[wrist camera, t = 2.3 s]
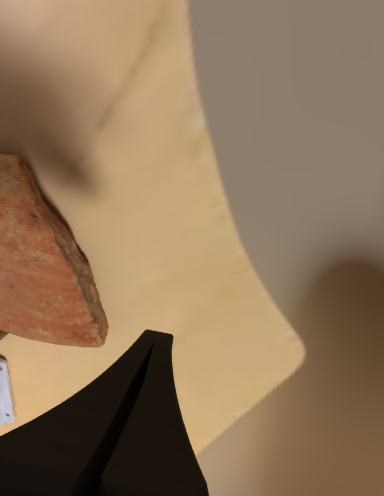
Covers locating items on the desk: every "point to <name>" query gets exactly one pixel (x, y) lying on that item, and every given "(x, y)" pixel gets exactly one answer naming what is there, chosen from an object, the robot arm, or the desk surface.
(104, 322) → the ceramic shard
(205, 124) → the desk surface
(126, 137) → the desk surface
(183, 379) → the desk surface
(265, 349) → the desk surface
